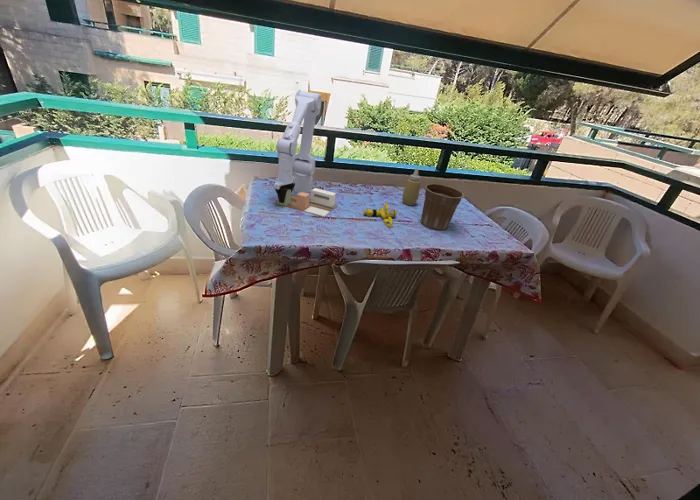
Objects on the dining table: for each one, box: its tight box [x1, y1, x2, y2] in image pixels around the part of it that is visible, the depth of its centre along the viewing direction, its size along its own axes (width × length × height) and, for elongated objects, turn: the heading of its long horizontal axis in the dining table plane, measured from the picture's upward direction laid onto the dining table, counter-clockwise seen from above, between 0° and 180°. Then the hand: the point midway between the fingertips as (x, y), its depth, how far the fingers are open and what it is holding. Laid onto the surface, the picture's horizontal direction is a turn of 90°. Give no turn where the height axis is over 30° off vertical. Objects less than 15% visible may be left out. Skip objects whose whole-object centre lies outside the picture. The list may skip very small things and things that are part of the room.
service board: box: [274, 193, 337, 218], centre depth 142 cm, size 15×23×1 cm, turn 71°
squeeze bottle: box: [401, 167, 422, 206], centre depth 160 cm, size 8×8×18 cm
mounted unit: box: [309, 187, 338, 210], centre depth 143 cm, size 5×12×6 cm, turn 71°
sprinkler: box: [363, 202, 398, 228], centre depth 143 cm, size 19×4×15 cm
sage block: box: [277, 189, 292, 206], centre depth 138 cm, size 4×4×6 cm
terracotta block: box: [296, 192, 311, 210], centre depth 137 cm, size 4×4×6 cm
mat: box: [304, 206, 331, 218], centre depth 136 cm, size 6×9×1 cm, turn 71°
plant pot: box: [420, 183, 465, 231], centre depth 141 cm, size 16×16×16 cm
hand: (284, 200), depth 139 cm, fingers closed on sage block, 4 cm apart
